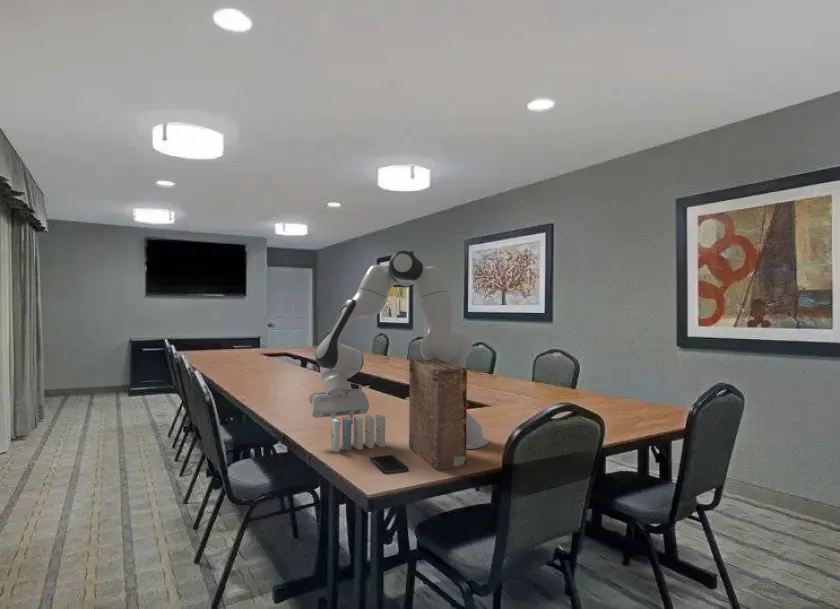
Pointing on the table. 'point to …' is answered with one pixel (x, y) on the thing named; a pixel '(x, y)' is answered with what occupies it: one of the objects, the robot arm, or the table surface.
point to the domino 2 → (346, 433)
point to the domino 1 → (335, 435)
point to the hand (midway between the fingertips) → (344, 424)
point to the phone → (388, 464)
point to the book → (438, 413)
